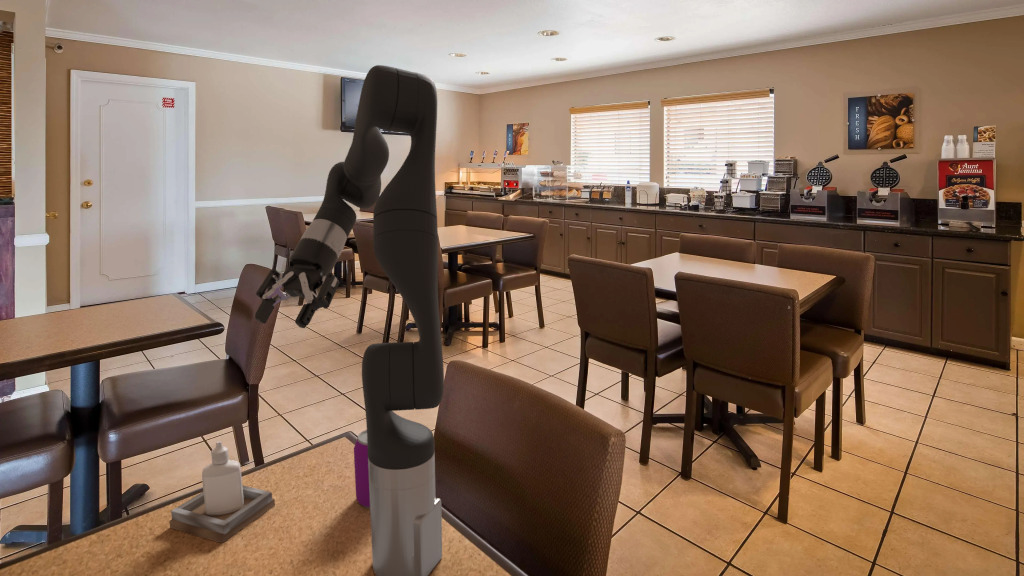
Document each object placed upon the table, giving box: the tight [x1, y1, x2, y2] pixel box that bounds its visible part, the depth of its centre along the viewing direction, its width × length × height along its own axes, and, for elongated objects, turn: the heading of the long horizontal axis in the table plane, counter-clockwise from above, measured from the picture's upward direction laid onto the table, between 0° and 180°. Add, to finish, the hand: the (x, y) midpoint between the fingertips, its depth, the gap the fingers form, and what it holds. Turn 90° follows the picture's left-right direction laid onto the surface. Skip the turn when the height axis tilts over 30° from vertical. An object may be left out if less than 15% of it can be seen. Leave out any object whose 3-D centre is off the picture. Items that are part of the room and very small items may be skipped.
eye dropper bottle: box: [201, 440, 244, 516], centre depth 92 cm, size 4×6×12 cm
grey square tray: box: [168, 484, 276, 544], centre depth 93 cm, size 11×11×3 cm
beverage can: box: [353, 429, 370, 509], centre depth 98 cm, size 8×8×12 cm
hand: (279, 323), depth 97 cm, fingers open, 8 cm apart
